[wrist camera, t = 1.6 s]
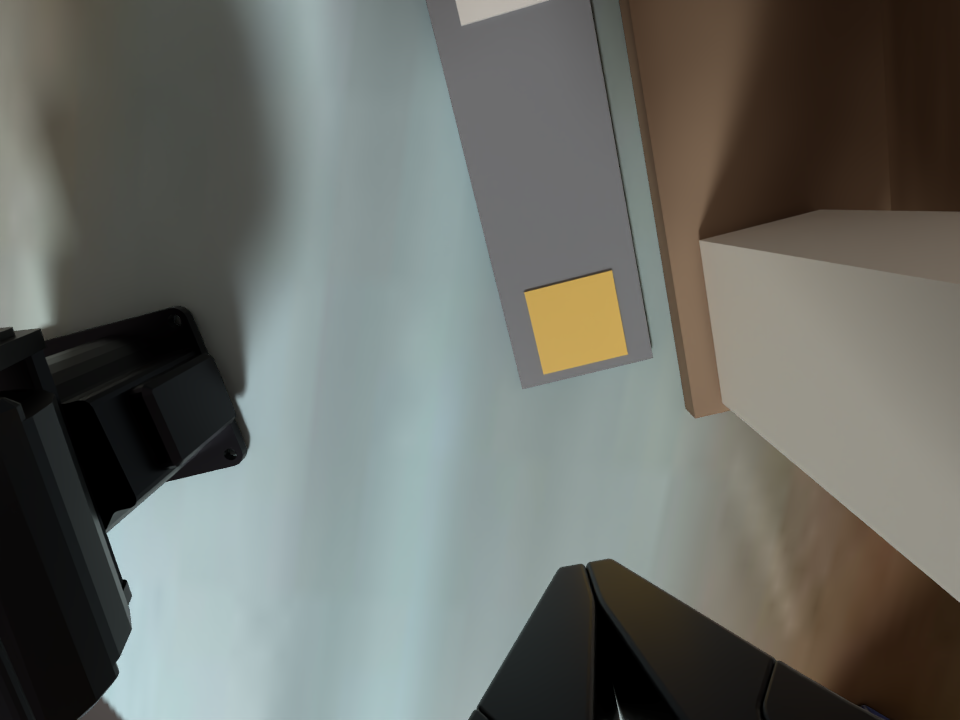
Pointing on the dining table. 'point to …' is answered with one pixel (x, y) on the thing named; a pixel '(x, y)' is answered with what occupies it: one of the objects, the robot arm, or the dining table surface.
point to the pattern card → (545, 181)
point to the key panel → (785, 127)
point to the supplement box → (874, 712)
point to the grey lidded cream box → (852, 362)
